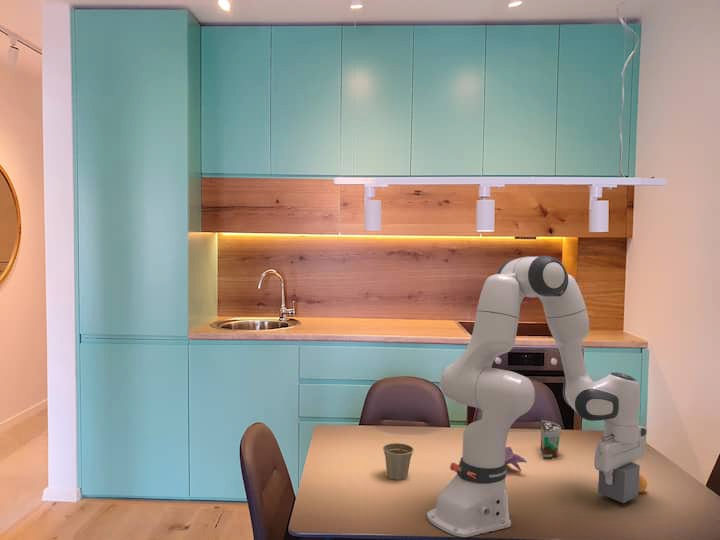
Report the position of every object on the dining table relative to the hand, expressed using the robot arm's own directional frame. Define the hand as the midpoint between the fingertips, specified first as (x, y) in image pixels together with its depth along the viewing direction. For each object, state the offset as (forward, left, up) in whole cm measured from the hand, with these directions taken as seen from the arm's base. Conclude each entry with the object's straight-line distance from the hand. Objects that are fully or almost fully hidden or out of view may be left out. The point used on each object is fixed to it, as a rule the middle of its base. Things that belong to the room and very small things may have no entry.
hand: (618, 479), depth 169 cm
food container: (+14, +32, -6) cm, 35 cm away
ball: (+10, 0, -3) cm, 11 cm away
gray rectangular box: (0, 0, -4) cm, 4 cm away
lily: (-10, +31, -6) cm, 33 cm away
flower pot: (-41, +47, -6) cm, 63 cm away
